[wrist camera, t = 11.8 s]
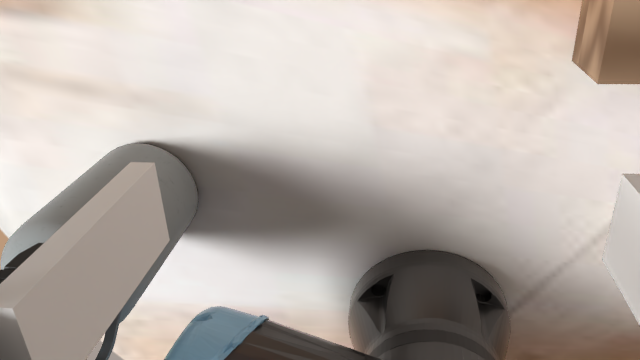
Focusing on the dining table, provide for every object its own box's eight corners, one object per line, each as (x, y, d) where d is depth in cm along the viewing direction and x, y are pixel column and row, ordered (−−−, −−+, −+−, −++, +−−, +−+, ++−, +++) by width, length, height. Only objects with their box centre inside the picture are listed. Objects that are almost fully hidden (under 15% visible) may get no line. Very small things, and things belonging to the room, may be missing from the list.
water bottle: (216, 164, 49) (22, 431, 24) (192, 247, 53) (9, 542, 28) (109, 124, 48) (-201, 352, 23) (94, 210, 53) (-178, 478, 28)
